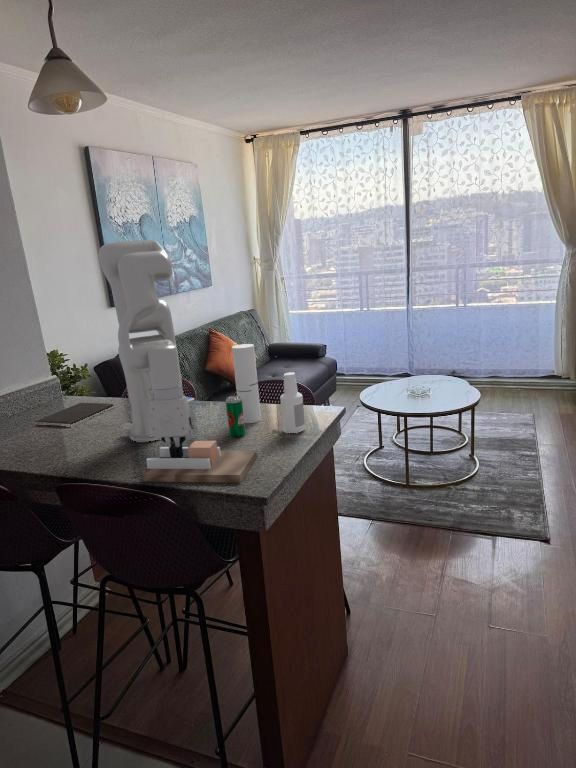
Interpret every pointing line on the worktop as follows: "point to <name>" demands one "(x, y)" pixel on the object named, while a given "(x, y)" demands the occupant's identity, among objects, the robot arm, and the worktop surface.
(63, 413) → the hardcover book
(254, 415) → the cylindrical container
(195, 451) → the block
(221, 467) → the board
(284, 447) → the worktop surface
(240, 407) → the soda can
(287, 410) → the white bottle
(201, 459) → the channel
